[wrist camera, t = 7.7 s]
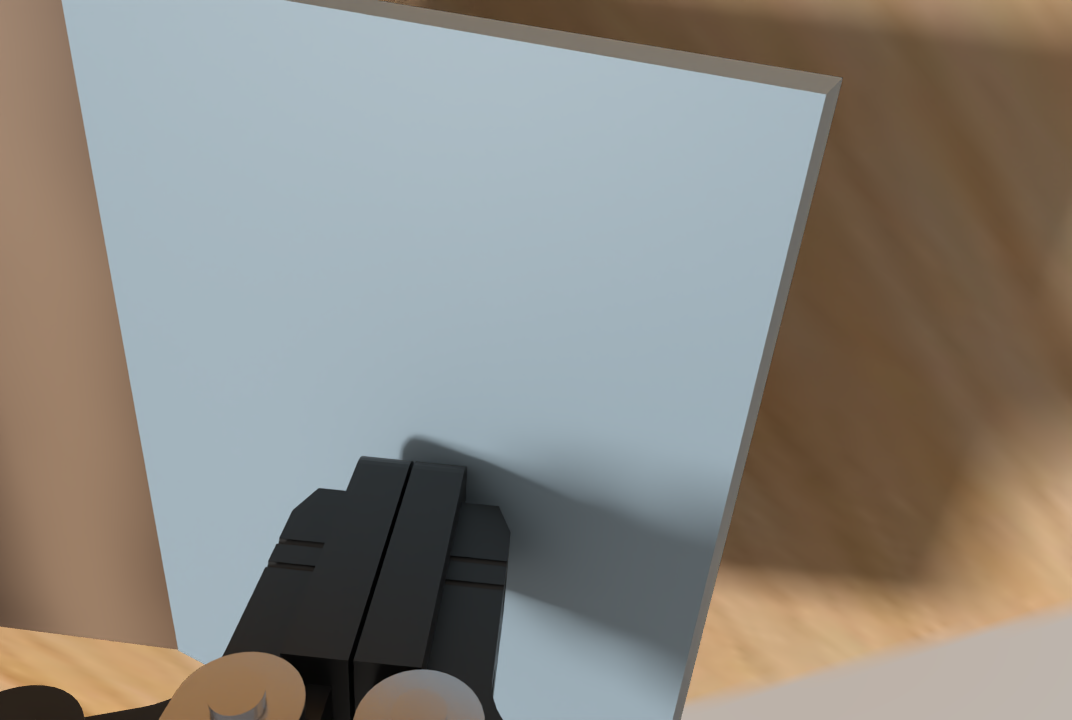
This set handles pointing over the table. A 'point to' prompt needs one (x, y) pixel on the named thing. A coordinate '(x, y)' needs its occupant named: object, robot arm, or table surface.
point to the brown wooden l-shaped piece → (64, 370)
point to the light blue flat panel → (450, 300)
